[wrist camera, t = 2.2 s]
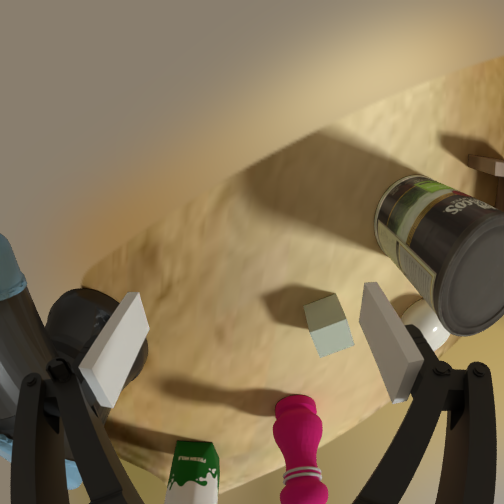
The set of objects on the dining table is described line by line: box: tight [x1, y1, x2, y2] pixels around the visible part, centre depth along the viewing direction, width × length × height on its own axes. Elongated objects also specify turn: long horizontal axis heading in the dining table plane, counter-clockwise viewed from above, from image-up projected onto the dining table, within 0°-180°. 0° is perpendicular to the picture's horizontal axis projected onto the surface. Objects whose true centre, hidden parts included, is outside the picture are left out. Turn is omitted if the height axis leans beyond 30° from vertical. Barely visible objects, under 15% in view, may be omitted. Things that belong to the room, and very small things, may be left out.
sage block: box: [304, 294, 354, 358], centre depth 32 cm, size 4×4×5 cm
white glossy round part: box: [401, 299, 450, 351], centre depth 33 cm, size 7×7×4 cm
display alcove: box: [468, 154, 504, 212], centre depth 26 cm, size 8×16×5 cm, turn 4°
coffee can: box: [374, 175, 504, 336], centre depth 23 cm, size 10×10×14 cm
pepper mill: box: [273, 395, 328, 504], centre depth 32 cm, size 7×7×20 cm
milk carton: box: [164, 441, 220, 504], centre depth 39 cm, size 9×9×20 cm
